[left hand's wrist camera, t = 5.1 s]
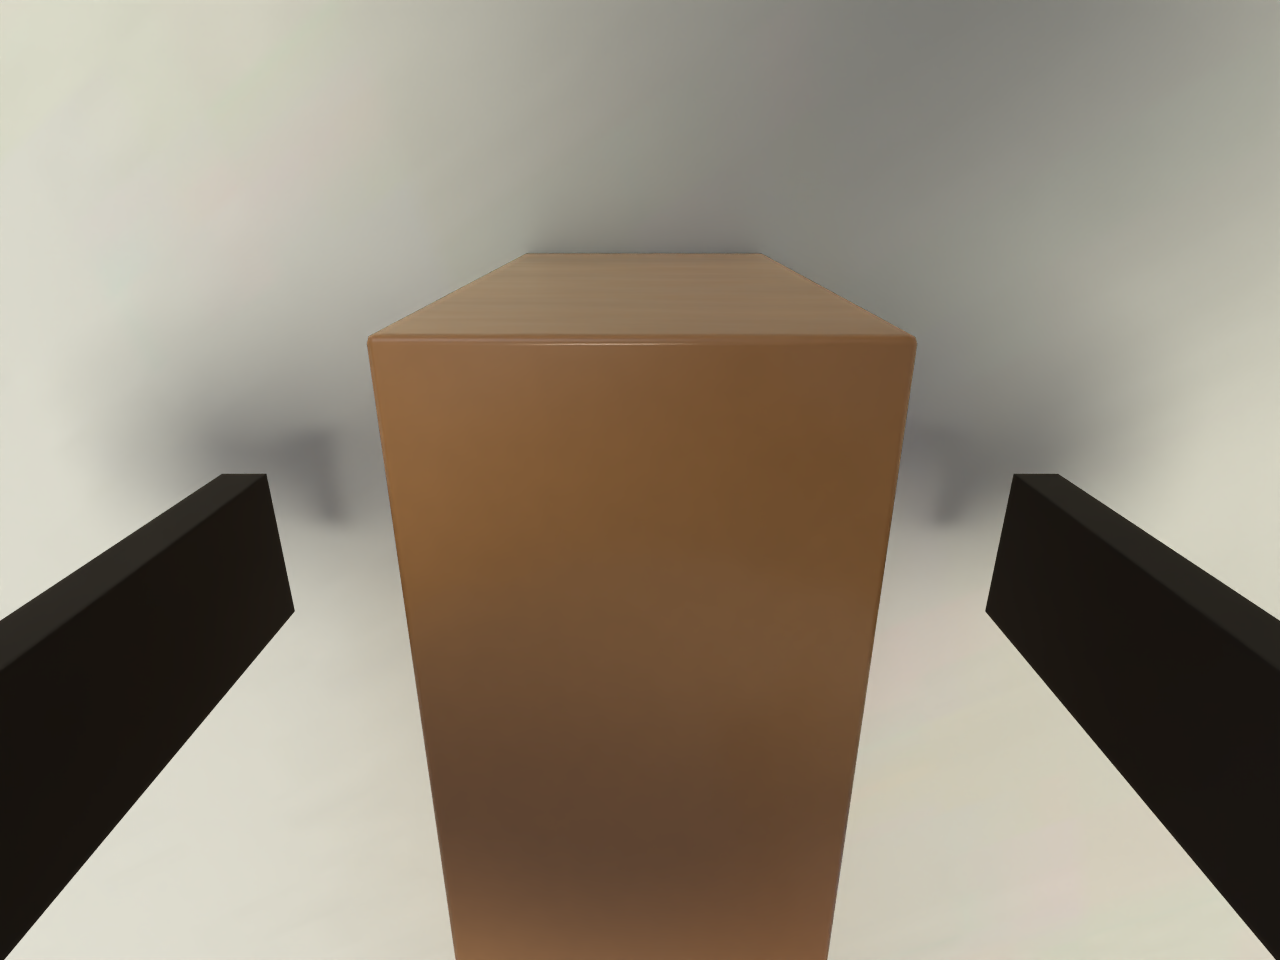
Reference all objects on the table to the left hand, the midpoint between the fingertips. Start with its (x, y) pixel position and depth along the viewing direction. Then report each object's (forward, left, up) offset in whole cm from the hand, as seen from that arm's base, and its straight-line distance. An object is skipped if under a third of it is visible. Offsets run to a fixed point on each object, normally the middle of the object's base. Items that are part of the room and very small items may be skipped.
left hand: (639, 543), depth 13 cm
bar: (+31, +14, -3) cm, 34 cm away
